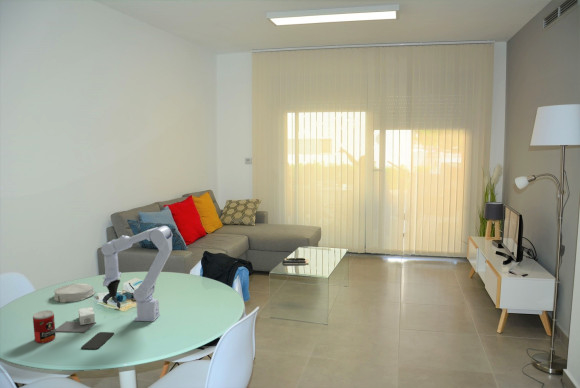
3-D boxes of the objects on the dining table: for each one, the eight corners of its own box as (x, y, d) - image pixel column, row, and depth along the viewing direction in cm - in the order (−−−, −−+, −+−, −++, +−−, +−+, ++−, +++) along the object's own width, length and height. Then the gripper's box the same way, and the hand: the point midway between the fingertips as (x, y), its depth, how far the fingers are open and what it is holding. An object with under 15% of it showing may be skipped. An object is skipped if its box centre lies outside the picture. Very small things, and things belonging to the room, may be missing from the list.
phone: (115, 332, 193) (97, 348, 178) (115, 334, 193) (97, 350, 178) (99, 331, 194) (79, 348, 179) (99, 333, 194) (79, 350, 179)
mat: (96, 322, 204) (96, 322, 203) (84, 332, 194) (84, 331, 194) (66, 322, 205) (66, 321, 205) (53, 331, 195) (53, 330, 195)
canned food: (41, 345, 182) (39, 319, 181) (30, 340, 187) (28, 315, 185) (59, 337, 189) (57, 312, 187) (48, 333, 193) (46, 308, 192)
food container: (44, 300, 233) (43, 287, 232) (76, 287, 251) (75, 275, 250) (73, 306, 225) (72, 293, 224) (103, 292, 244) (102, 280, 243)
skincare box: (79, 316, 199) (77, 308, 209) (80, 326, 199) (78, 317, 210) (95, 313, 202) (92, 305, 212) (95, 323, 202) (92, 315, 213)
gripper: (110, 263, 215) (111, 290, 217) (95, 272, 200) (97, 301, 202) (124, 263, 214) (126, 290, 216) (111, 272, 200) (112, 302, 202)
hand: (113, 296), depth 209 cm, fingers closed
